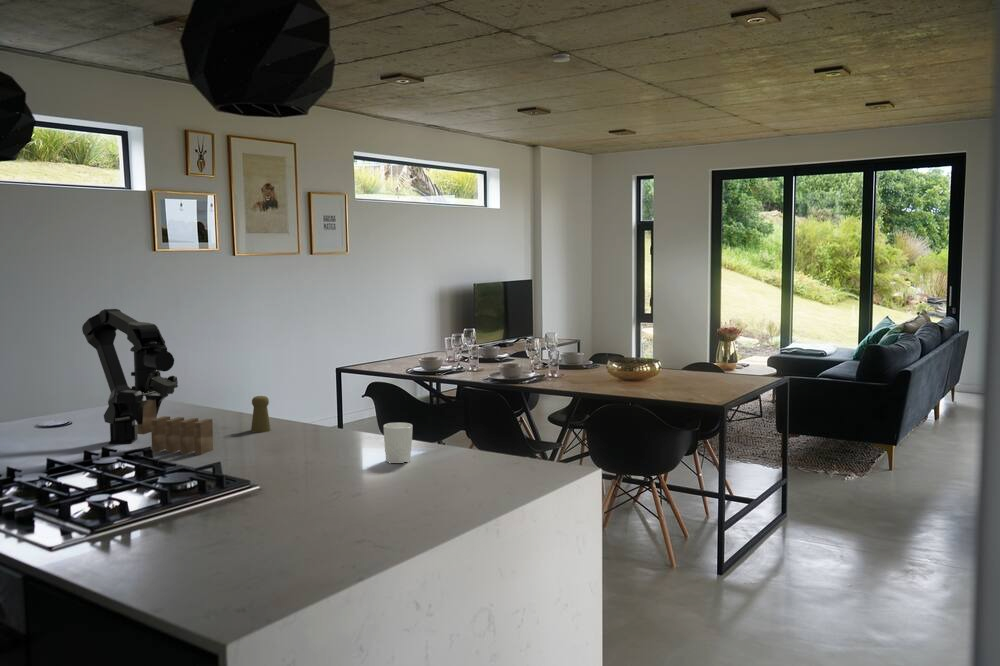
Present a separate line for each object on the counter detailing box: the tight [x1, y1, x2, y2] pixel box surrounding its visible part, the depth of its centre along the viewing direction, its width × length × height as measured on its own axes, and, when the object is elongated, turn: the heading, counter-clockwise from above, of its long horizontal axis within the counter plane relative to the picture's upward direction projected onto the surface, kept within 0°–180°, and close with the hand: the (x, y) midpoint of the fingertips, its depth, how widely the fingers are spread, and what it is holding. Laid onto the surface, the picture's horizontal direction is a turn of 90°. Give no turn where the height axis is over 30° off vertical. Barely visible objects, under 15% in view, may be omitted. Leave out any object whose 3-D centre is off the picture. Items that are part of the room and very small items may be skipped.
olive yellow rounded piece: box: [250, 395, 271, 433], centre depth 255 cm, size 6×6×11 cm
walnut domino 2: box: [150, 415, 171, 453], centre depth 229 cm, size 2×6×9 cm, turn 168°
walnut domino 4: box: [179, 417, 199, 455], centre depth 227 cm, size 2×6×9 cm, turn 168°
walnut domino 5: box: [194, 418, 214, 456], centre depth 226 cm, size 2×6×9 cm, turn 168°
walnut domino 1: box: [136, 399, 158, 435], centre depth 230 cm, size 2×6×9 cm, turn 168°
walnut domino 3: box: [165, 416, 185, 454], centre depth 228 cm, size 2×6×9 cm, turn 168°
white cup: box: [383, 422, 413, 464], centre depth 219 cm, size 8×8×10 cm
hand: (146, 421), depth 230 cm, fingers closed on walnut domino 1, 6 cm apart
